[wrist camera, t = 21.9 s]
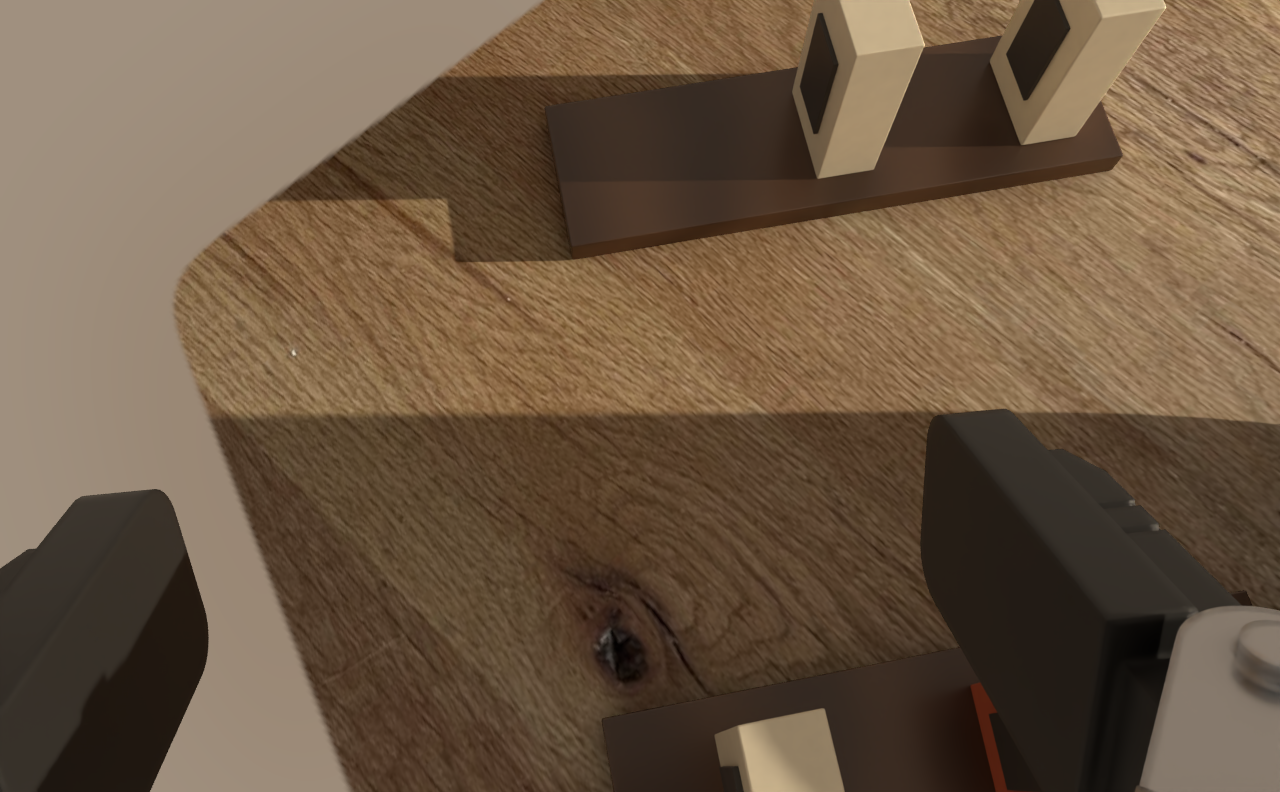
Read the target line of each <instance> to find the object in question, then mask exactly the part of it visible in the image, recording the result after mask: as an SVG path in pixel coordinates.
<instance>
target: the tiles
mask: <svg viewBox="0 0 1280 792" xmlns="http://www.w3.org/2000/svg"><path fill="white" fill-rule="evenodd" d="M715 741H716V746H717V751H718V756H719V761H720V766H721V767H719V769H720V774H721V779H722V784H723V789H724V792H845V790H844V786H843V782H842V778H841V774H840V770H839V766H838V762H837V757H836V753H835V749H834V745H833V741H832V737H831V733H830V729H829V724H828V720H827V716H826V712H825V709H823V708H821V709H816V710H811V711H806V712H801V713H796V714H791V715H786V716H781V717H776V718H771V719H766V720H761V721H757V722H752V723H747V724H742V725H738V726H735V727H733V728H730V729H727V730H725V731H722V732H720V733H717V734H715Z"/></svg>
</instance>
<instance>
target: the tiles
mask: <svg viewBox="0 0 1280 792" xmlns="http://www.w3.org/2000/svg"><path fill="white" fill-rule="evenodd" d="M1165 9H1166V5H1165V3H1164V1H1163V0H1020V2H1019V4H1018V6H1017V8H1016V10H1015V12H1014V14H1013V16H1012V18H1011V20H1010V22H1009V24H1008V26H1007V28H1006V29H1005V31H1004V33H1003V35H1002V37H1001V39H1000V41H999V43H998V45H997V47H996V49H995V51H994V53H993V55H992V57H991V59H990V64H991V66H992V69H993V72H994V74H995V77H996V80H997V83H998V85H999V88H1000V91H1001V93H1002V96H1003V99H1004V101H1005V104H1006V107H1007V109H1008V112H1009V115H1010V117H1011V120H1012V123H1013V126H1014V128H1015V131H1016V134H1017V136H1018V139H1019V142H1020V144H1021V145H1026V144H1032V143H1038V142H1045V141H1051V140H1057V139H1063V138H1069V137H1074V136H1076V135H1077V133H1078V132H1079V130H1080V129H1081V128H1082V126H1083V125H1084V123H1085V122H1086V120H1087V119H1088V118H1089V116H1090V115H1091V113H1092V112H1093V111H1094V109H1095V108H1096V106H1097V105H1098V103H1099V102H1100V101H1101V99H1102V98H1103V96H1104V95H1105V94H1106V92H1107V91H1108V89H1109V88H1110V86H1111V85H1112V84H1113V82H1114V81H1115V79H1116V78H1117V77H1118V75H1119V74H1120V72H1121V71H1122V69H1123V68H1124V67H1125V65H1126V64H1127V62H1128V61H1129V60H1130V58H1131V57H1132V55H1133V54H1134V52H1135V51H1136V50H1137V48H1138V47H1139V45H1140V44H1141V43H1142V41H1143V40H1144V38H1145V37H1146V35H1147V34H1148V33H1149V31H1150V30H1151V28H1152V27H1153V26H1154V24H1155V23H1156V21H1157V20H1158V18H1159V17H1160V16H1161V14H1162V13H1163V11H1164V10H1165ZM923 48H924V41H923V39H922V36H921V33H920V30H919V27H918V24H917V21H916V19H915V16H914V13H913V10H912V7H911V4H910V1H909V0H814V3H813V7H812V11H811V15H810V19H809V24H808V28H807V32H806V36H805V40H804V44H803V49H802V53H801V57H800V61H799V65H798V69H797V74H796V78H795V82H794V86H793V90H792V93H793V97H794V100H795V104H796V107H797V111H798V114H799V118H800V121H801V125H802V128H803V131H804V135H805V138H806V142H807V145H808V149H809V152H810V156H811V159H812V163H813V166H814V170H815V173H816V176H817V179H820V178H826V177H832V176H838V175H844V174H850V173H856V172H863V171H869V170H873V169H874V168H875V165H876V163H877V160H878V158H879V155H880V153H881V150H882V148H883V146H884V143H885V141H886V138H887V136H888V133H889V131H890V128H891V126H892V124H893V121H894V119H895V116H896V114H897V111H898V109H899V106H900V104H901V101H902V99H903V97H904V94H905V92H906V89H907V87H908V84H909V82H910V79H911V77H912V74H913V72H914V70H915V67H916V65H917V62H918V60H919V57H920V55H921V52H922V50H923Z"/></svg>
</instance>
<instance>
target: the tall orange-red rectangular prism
mask: <svg viewBox="0 0 1280 792" xmlns="http://www.w3.org/2000/svg"><path fill="white" fill-rule="evenodd" d="M971 691H972V695H973V699H974V703H975V707H976V711H977V716H978V720H979V724H980V728H981V732H982V736H983V741H984V745H985V749H986V753H987V757H988V761H989V765H990V770H991V774H992V778H993V782H994V786H995V790H996V792H1042V790H1041V788H1040V787H1039V785H1038V783H1037V781H1036V780H1035V778H1034V776H1033V774H1032V772H1031V771H1030V769H1029V767H1028V765H1027V764H1026V762H1025V760H1024V758H1023V757H1022V755H1021V753H1020V751H1019V750H1018V748H1017V746H1016V744H1015V743H1014V741H1013V739H1012V737H1011V736H1010V734H1009V732H1008V730H1007V729H1006V727H1005V725H1004V723H1003V722H1002V720H1001V718H1000V716H999V715H998V713H997V711H996V709H995V708H994V706H993V704H992V702H991V700H990V699H989V697H988V695H987V693H986V692H985V690H984V688H983V686H982V685H981V683H976V684H972V685H971Z"/></svg>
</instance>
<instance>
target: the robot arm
mask: <svg viewBox="0 0 1280 792" xmlns="http://www.w3.org/2000/svg"><path fill="white" fill-rule="evenodd" d="M920 546H921V559H922V566H923V571H924V576H925V580H926V583H927V586H928V589H929V592H930V594H931V596H932V598H933V600H934V602H935V604H936V606H937V607H938V609H939V611H940V613H941V614H942V616H943V618H944V620H945V621H946V623H947V625H948V627H949V628H950V630H951V632H952V634H953V636H954V637H955V639H956V641H957V643H958V644H959V646H960V648H961V650H962V651H963V653H964V655H965V657H966V658H967V660H968V662H969V664H970V665H971V667H972V669H973V671H974V672H975V674H976V676H977V678H978V679H979V681H980V683H981V685H982V686H983V688H984V690H985V692H986V693H987V695H988V697H989V699H990V700H991V702H992V704H993V706H994V708H995V709H996V711H997V713H998V715H999V716H1000V718H1001V720H1002V722H1003V723H1004V725H1005V727H1006V729H1007V730H1008V732H1009V734H1010V736H1011V737H1012V739H1013V741H1014V743H1015V744H1016V746H1017V748H1018V750H1019V751H1020V753H1021V755H1022V757H1023V758H1024V760H1025V762H1026V764H1027V765H1028V767H1029V769H1030V771H1031V772H1032V774H1033V776H1034V778H1035V780H1036V781H1037V783H1038V785H1039V787H1040V788H1041V790H1042V792H1280V611H1279V610H1275V609H1270V608H1263V607H1255V606H1242V605H1241V604H1240V603H1239V602H1238V601H1237V600H1236V599H1235V598H1234V597H1233V596H1232V595H1231V594H1230V593H1229V592H1228V591H1227V590H1226V589H1225V588H1224V587H1223V586H1222V585H1221V584H1220V583H1219V582H1218V581H1217V580H1216V579H1215V578H1214V577H1213V576H1212V575H1211V574H1210V573H1209V572H1208V571H1207V570H1205V569H1204V568H1203V567H1202V566H1201V565H1200V564H1199V563H1198V562H1197V561H1196V560H1195V559H1194V558H1193V557H1192V556H1191V555H1190V554H1189V553H1188V552H1187V551H1186V550H1185V549H1184V548H1183V547H1182V546H1181V545H1180V544H1179V543H1178V542H1177V541H1176V540H1175V539H1174V538H1173V537H1172V536H1171V535H1170V534H1169V533H1168V532H1167V531H1166V530H1160V529H1159V523H1158V522H1157V521H1156V520H1155V519H1154V518H1153V517H1152V516H1151V515H1150V514H1149V513H1148V512H1147V511H1146V510H1145V509H1144V508H1143V507H1142V506H1141V505H1139V506H1136V505H1135V499H1134V498H1133V497H1132V496H1131V495H1130V494H1129V493H1128V492H1127V491H1126V490H1125V489H1124V488H1122V487H1121V486H1120V485H1119V484H1118V483H1117V482H1116V481H1115V480H1114V479H1113V478H1112V477H1111V476H1110V475H1109V474H1108V473H1107V472H1106V471H1105V470H1103V469H1101V468H1099V467H1097V466H1095V465H1093V464H1091V463H1089V462H1087V461H1085V460H1083V459H1081V458H1079V457H1077V456H1075V455H1073V454H1071V453H1069V452H1067V451H1065V450H1063V449H1055V450H1047V449H1046V448H1045V447H1044V446H1043V445H1042V444H1041V443H1040V441H1039V440H1038V439H1037V438H1036V437H1035V436H1034V435H1033V434H1032V433H1031V432H1030V431H1029V430H1028V429H1027V428H1026V427H1025V426H1024V425H1023V423H1022V422H1021V421H1020V420H1019V419H1018V418H1017V417H1016V416H1015V415H1014V414H1013V413H1012V412H1011V411H1009V410H1007V409H996V410H986V411H975V412H965V413H955V414H944V415H937V416H935V417H934V418H933V419H932V421H931V423H930V426H929V429H928V434H927V446H926V461H925V476H924V492H923V507H922V523H921V540H920ZM207 653H208V623H207V618H206V613H205V609H204V605H203V602H202V599H201V595H200V592H199V589H198V586H197V582H196V579H195V576H194V573H193V569H192V566H191V563H190V559H189V556H188V553H187V550H186V546H185V543H184V540H183V536H182V533H181V530H180V526H179V523H178V520H177V517H176V514H175V511H174V508H173V505H172V503H171V501H170V500H169V498H168V497H167V495H166V494H165V493H164V492H162V491H161V490H157V489H152V490H142V491H132V492H121V493H111V494H101V495H90V496H83V497H80V498H78V499H77V500H75V501H74V503H73V504H72V505H71V506H70V507H69V509H68V510H67V511H66V512H65V514H64V515H63V516H62V517H61V519H60V520H59V521H58V522H57V524H56V525H55V526H54V527H53V528H52V530H51V531H50V532H49V534H48V535H47V536H46V537H45V538H44V540H43V541H42V542H41V543H40V545H39V546H38V547H37V548H36V549H28V550H26V551H25V552H23V553H22V554H21V555H19V556H18V557H16V558H15V559H13V560H12V561H10V562H9V563H8V564H6V565H5V566H3V567H2V568H1V569H0V792H150V790H151V788H152V785H153V783H154V781H155V779H156V777H157V774H158V772H159V770H160V768H161V765H162V763H163V761H164V759H165V756H166V754H167V752H168V749H169V748H170V745H171V743H172V741H173V738H174V737H175V734H176V732H177V730H178V727H179V725H180V723H181V721H182V719H183V716H184V714H185V712H186V710H187V707H188V705H189V703H190V701H191V699H192V696H193V694H194V692H195V690H196V688H197V685H198V683H199V681H200V679H201V676H202V674H203V671H204V668H205V665H206V660H207Z"/></svg>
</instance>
